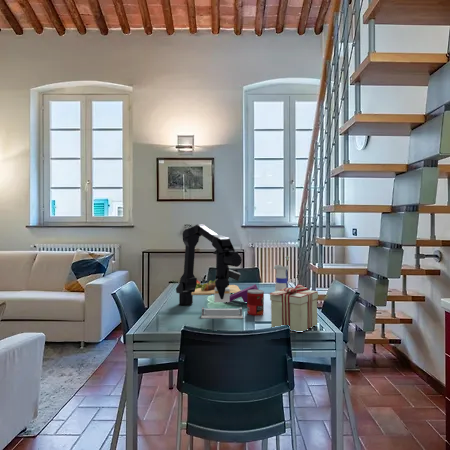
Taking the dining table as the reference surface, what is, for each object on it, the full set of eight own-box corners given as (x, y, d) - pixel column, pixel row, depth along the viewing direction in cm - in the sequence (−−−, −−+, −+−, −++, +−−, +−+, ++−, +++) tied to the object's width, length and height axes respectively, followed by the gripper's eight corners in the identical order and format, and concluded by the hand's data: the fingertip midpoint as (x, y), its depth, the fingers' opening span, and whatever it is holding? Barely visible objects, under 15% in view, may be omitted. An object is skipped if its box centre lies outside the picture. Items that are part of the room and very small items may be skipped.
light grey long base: (201, 318, 177) (201, 310, 176) (202, 313, 186) (202, 305, 185) (242, 318, 177) (242, 310, 177) (241, 313, 186) (241, 305, 186)
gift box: (280, 318, 177) (280, 281, 176) (318, 325, 166) (319, 285, 166) (261, 327, 163) (262, 286, 162) (302, 335, 152) (303, 292, 152)
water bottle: (276, 298, 220) (277, 254, 220) (291, 299, 216) (291, 255, 215) (271, 300, 213) (271, 255, 213) (285, 302, 209) (286, 256, 208)
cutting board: (183, 296, 227) (183, 283, 227) (183, 288, 251) (183, 276, 250) (242, 295, 231) (242, 282, 231) (236, 287, 254) (236, 276, 254)
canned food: (259, 316, 180) (259, 293, 180) (244, 314, 184) (244, 291, 184) (266, 313, 187) (266, 290, 186) (251, 311, 191) (251, 288, 191)
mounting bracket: (229, 314, 206) (259, 302, 202) (222, 300, 207) (253, 287, 203) (233, 310, 215) (262, 298, 211) (226, 296, 216) (255, 284, 212)
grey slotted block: (214, 302, 178) (214, 289, 178) (214, 299, 184) (214, 286, 184) (229, 302, 178) (229, 289, 178) (229, 299, 184) (229, 287, 184)
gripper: (240, 267, 171) (240, 302, 172) (238, 262, 190) (238, 293, 191) (215, 267, 171) (215, 302, 172) (215, 261, 190) (215, 293, 190)
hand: (221, 297), depth 181 cm, fingers closed on grey slotted block, 6 cm apart
